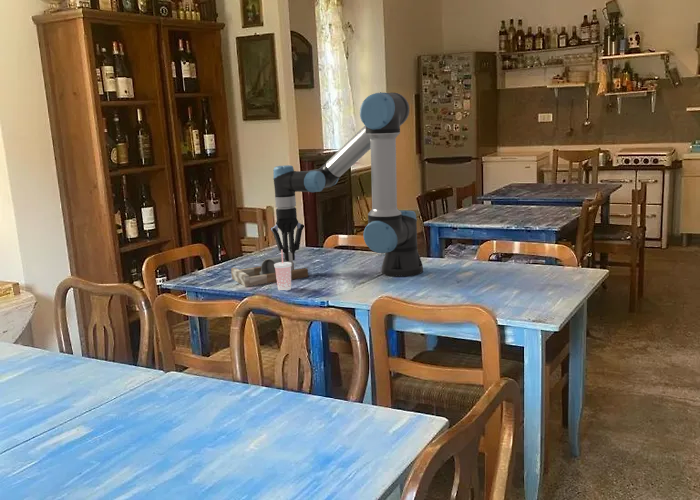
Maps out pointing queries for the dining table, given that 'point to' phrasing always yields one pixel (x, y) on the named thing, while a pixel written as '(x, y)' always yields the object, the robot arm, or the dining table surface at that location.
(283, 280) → the beverage cup
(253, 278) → the guide channel
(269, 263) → the ceramic mug
